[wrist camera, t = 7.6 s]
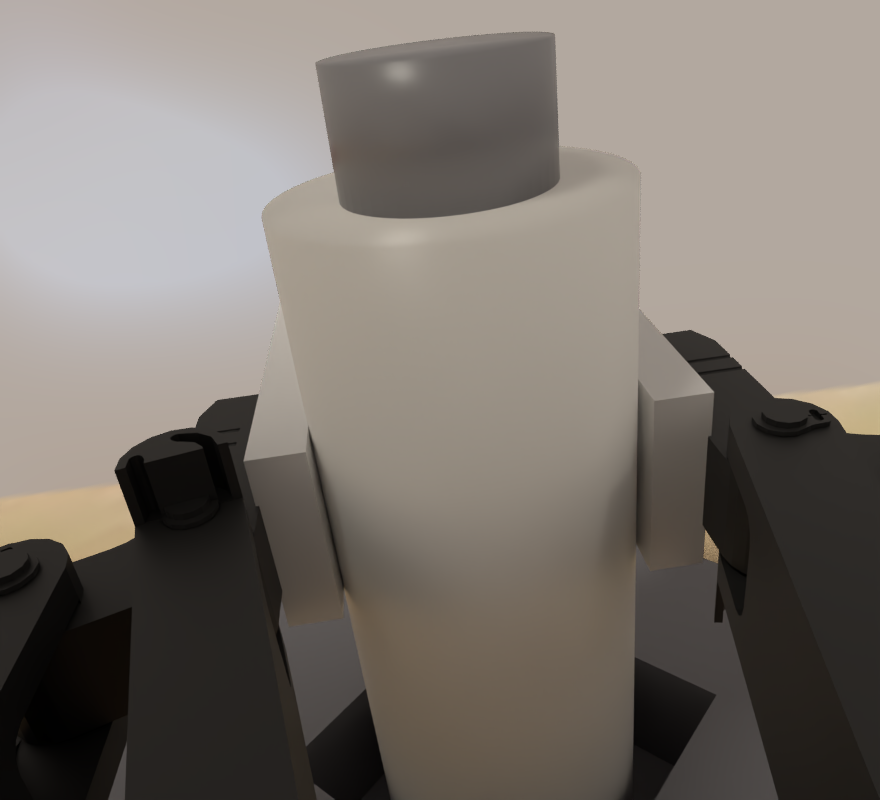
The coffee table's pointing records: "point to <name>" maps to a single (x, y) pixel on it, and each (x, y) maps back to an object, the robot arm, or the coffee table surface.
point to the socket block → (655, 700)
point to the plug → (474, 413)
